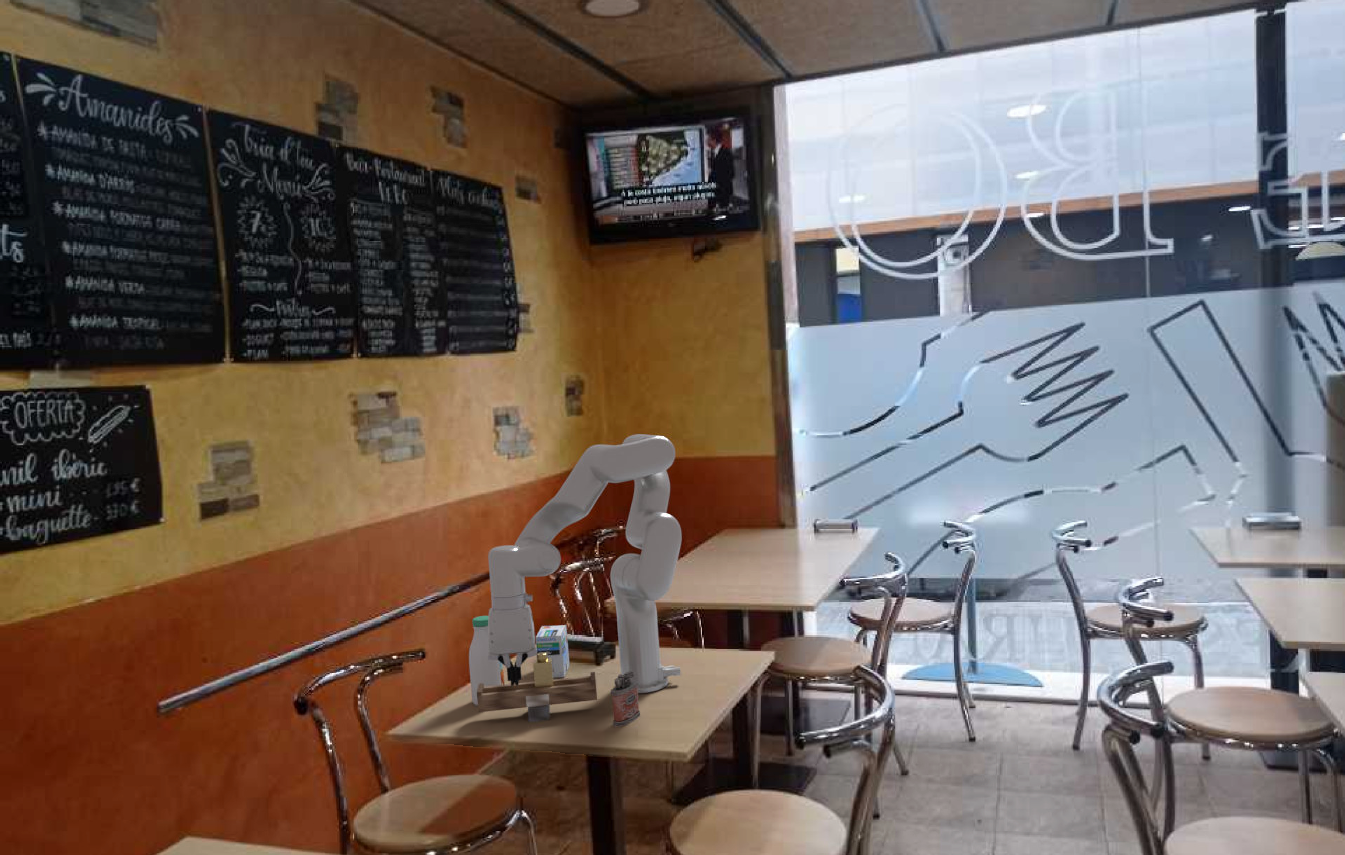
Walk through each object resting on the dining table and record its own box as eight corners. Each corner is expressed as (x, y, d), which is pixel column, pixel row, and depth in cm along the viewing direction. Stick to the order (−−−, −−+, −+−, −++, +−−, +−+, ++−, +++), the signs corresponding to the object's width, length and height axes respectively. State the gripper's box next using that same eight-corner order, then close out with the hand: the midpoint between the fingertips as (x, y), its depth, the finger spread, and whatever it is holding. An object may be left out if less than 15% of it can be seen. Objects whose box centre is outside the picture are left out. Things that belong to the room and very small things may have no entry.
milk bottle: (498, 707, 230) (491, 621, 228) (467, 707, 231) (460, 622, 230) (510, 695, 237) (503, 613, 236) (480, 695, 239) (473, 613, 238)
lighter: (622, 727, 211) (619, 681, 211) (609, 725, 213) (606, 679, 213) (643, 714, 218) (640, 669, 218) (630, 712, 220) (627, 668, 219)
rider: (553, 686, 224) (550, 651, 224) (553, 690, 221) (550, 654, 221) (535, 688, 224) (532, 653, 223) (535, 692, 221) (532, 656, 220)
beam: (597, 702, 228) (594, 670, 227) (598, 714, 220) (595, 681, 220) (482, 714, 225) (479, 682, 225) (479, 727, 217) (476, 693, 217)
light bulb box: (565, 677, 248) (561, 635, 248) (538, 679, 248) (534, 637, 248) (570, 664, 259) (566, 624, 258) (544, 666, 259) (541, 625, 258)
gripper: (543, 595, 225) (548, 675, 226) (476, 601, 223) (482, 681, 224) (542, 603, 218) (548, 685, 219) (473, 609, 216) (479, 692, 217)
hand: (514, 683), depth 222 cm, fingers closed
